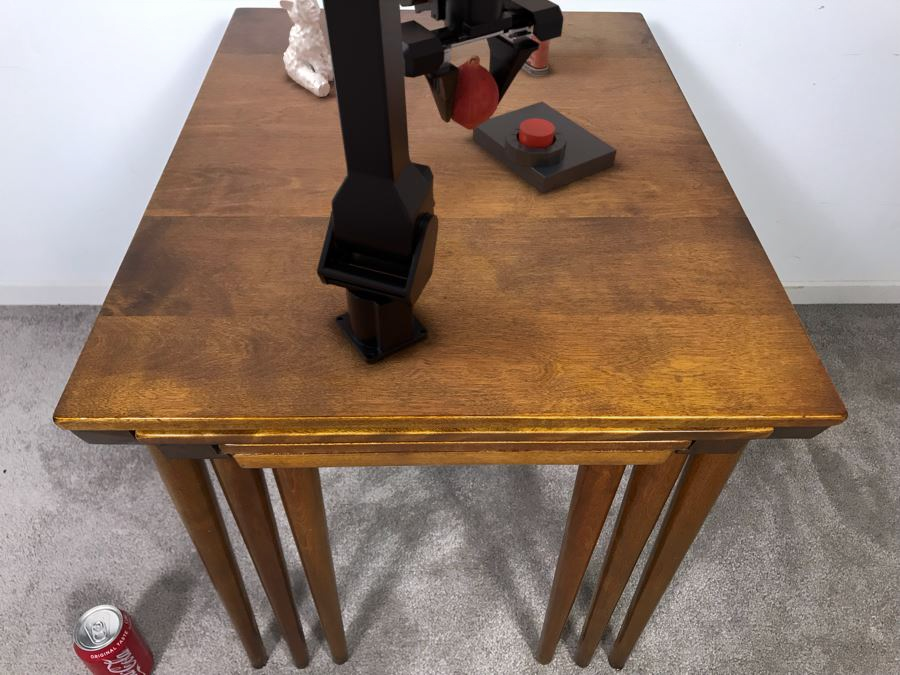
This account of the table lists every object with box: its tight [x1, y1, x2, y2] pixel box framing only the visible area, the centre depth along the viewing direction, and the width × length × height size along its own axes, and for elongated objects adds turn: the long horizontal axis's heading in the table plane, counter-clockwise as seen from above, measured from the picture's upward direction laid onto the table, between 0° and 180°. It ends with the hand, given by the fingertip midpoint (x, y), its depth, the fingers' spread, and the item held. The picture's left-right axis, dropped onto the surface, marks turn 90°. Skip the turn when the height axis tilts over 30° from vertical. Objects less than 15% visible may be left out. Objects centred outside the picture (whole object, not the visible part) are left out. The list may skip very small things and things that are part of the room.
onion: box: [450, 54, 499, 131], centre depth 74 cm, size 6×6×8 cm
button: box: [519, 119, 555, 148], centre depth 82 cm, size 4×4×2 cm
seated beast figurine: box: [279, 0, 334, 98], centre depth 96 cm, size 10×9×12 cm
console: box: [472, 101, 618, 194], centre depth 86 cm, size 14×12×4 cm
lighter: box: [521, 26, 551, 77], centre depth 101 cm, size 8×3×10 cm, turn 22°
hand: (469, 113), depth 76 cm, fingers closed on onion, 6 cm apart
